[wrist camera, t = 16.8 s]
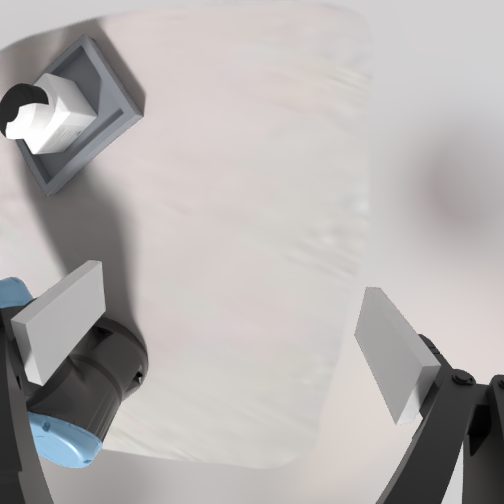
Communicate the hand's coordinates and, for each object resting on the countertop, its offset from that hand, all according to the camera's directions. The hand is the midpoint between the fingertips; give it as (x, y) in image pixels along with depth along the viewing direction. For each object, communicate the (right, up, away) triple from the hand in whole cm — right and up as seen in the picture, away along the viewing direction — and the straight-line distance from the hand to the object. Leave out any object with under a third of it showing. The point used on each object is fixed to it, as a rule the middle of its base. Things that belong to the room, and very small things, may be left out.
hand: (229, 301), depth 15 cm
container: (-25, +22, +23) cm, 40 cm away
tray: (-25, +22, +24) cm, 41 cm away
